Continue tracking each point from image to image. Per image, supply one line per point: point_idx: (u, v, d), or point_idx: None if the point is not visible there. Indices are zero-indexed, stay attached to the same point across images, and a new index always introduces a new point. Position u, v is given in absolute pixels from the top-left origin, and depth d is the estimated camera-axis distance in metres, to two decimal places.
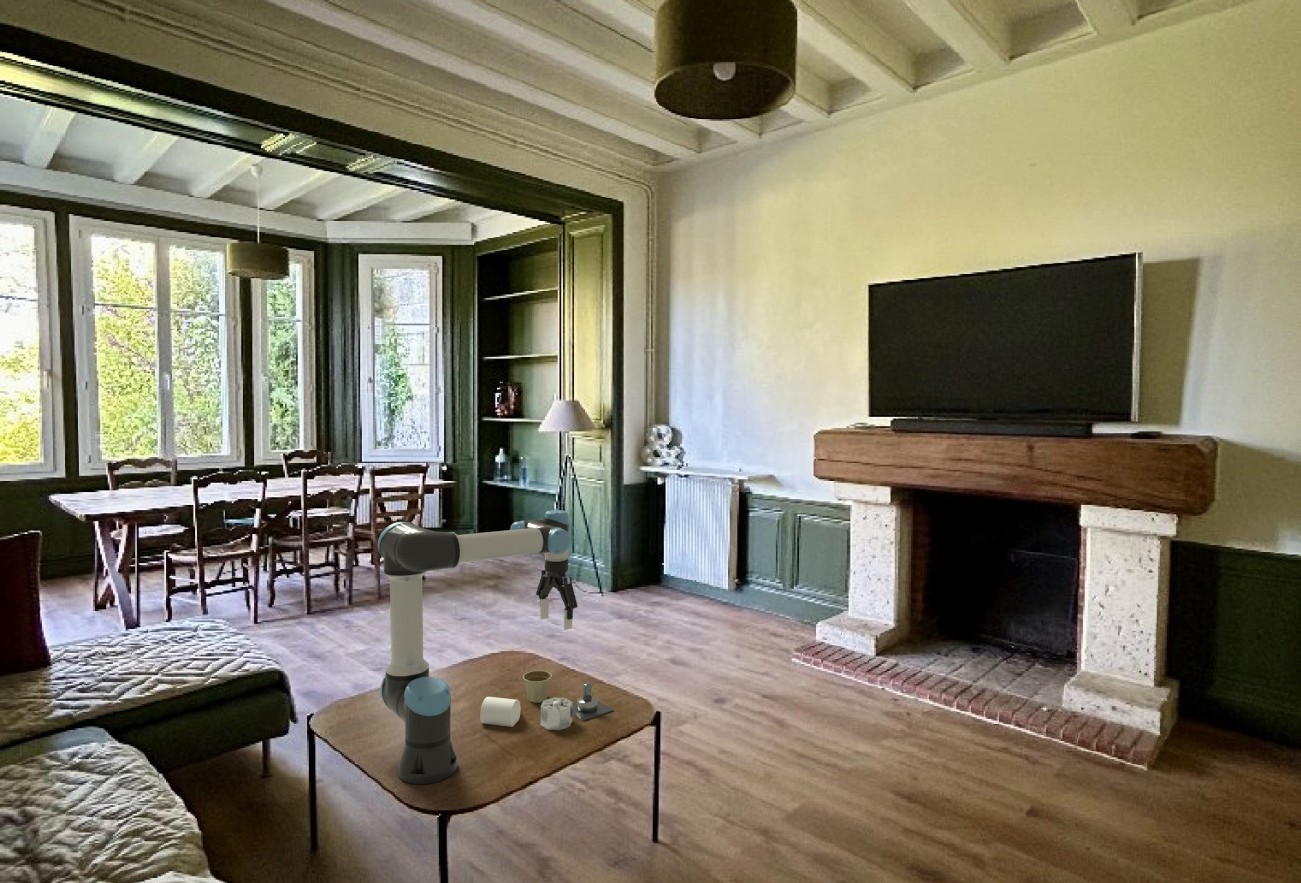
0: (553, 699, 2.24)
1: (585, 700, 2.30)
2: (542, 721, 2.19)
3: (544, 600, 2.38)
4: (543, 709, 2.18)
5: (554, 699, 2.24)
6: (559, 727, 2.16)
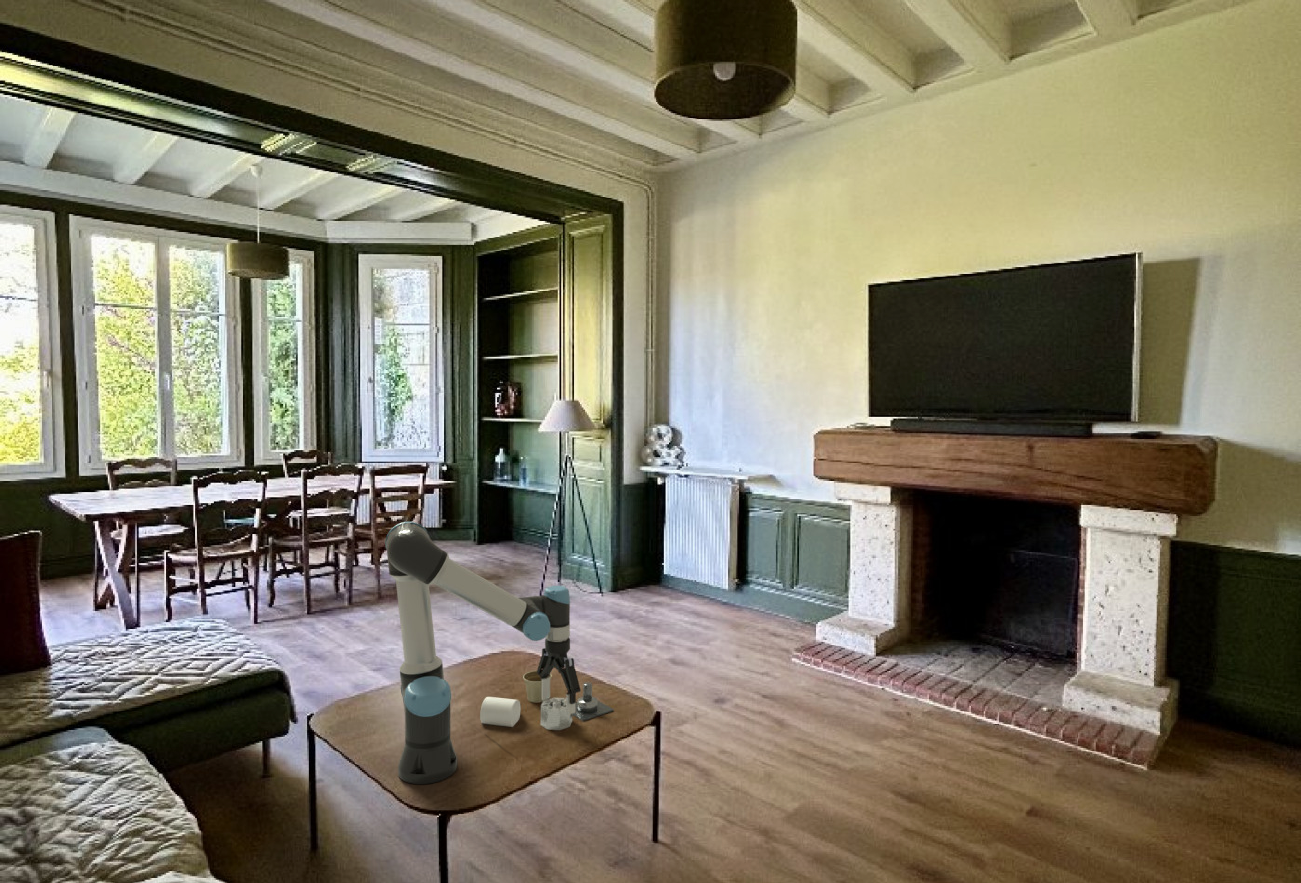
0: (553, 699, 2.24)
1: (585, 700, 2.30)
2: (542, 721, 2.19)
3: (545, 680, 2.25)
4: (543, 709, 2.18)
5: (554, 699, 2.24)
6: (559, 727, 2.16)
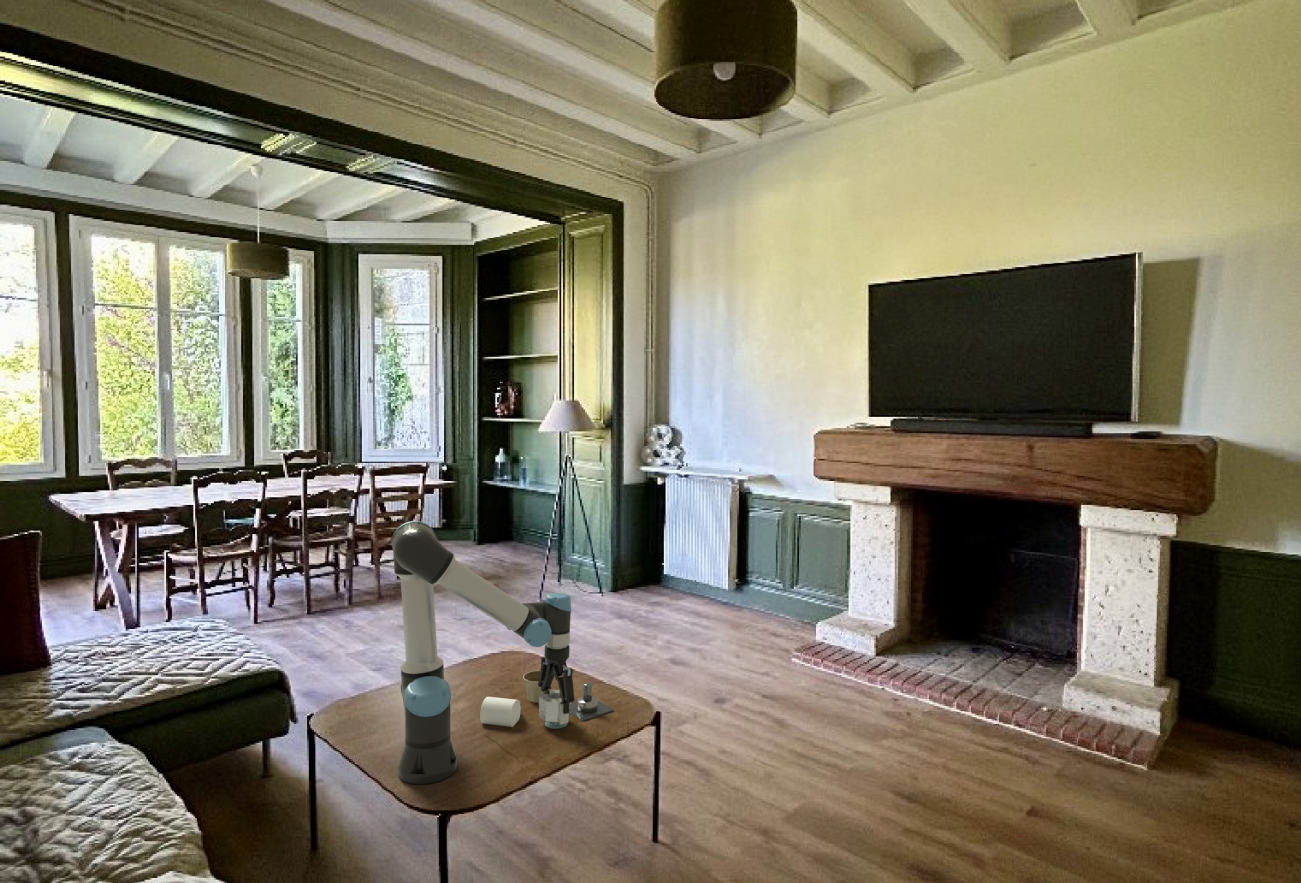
0: (552, 691, 2.23)
1: (585, 700, 2.30)
2: (540, 713, 2.18)
3: None
4: (541, 700, 2.18)
5: (553, 691, 2.23)
6: (557, 719, 2.16)
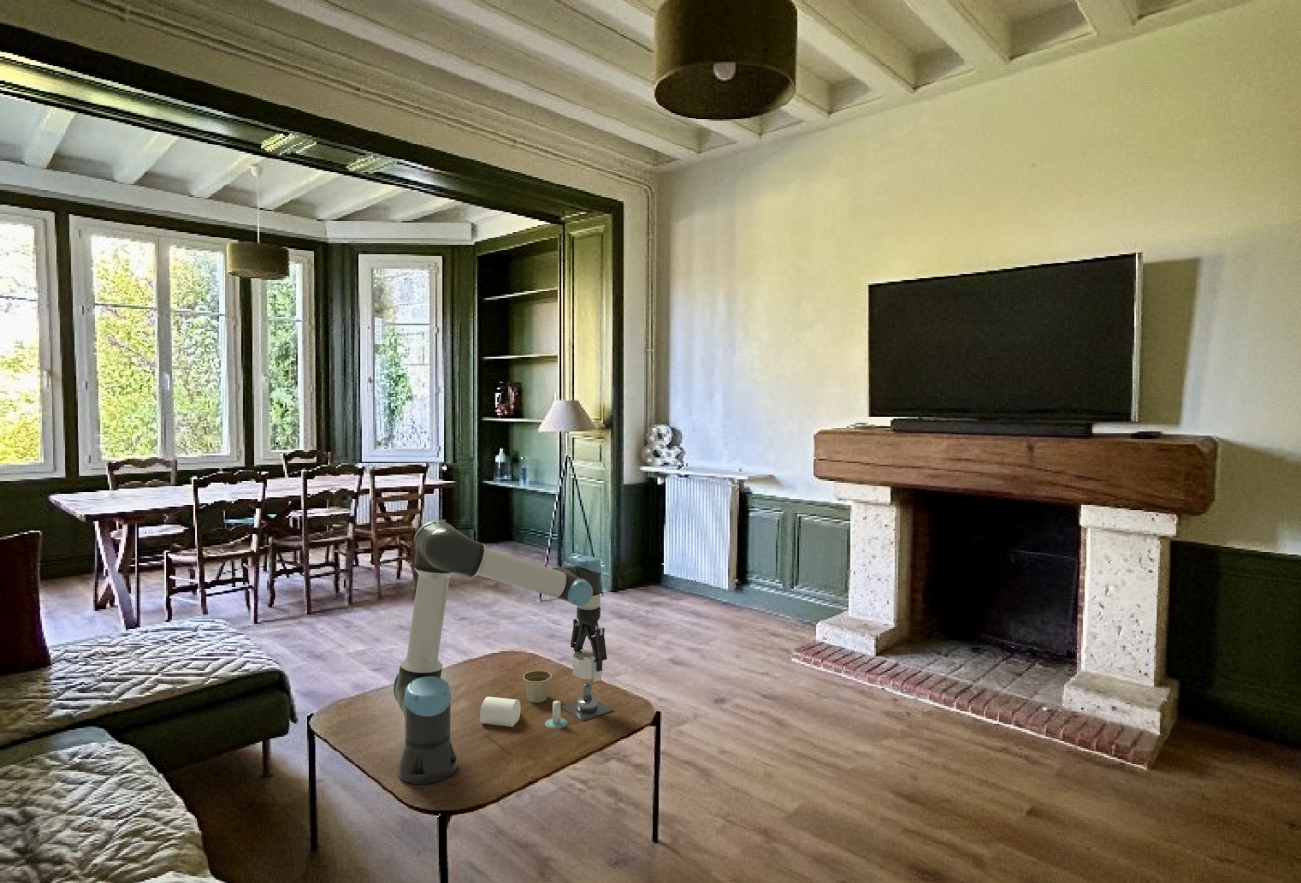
0: (584, 651, 2.33)
1: (585, 700, 2.30)
2: (574, 671, 2.28)
3: None
4: (575, 659, 2.27)
5: (585, 651, 2.33)
6: (591, 676, 2.26)
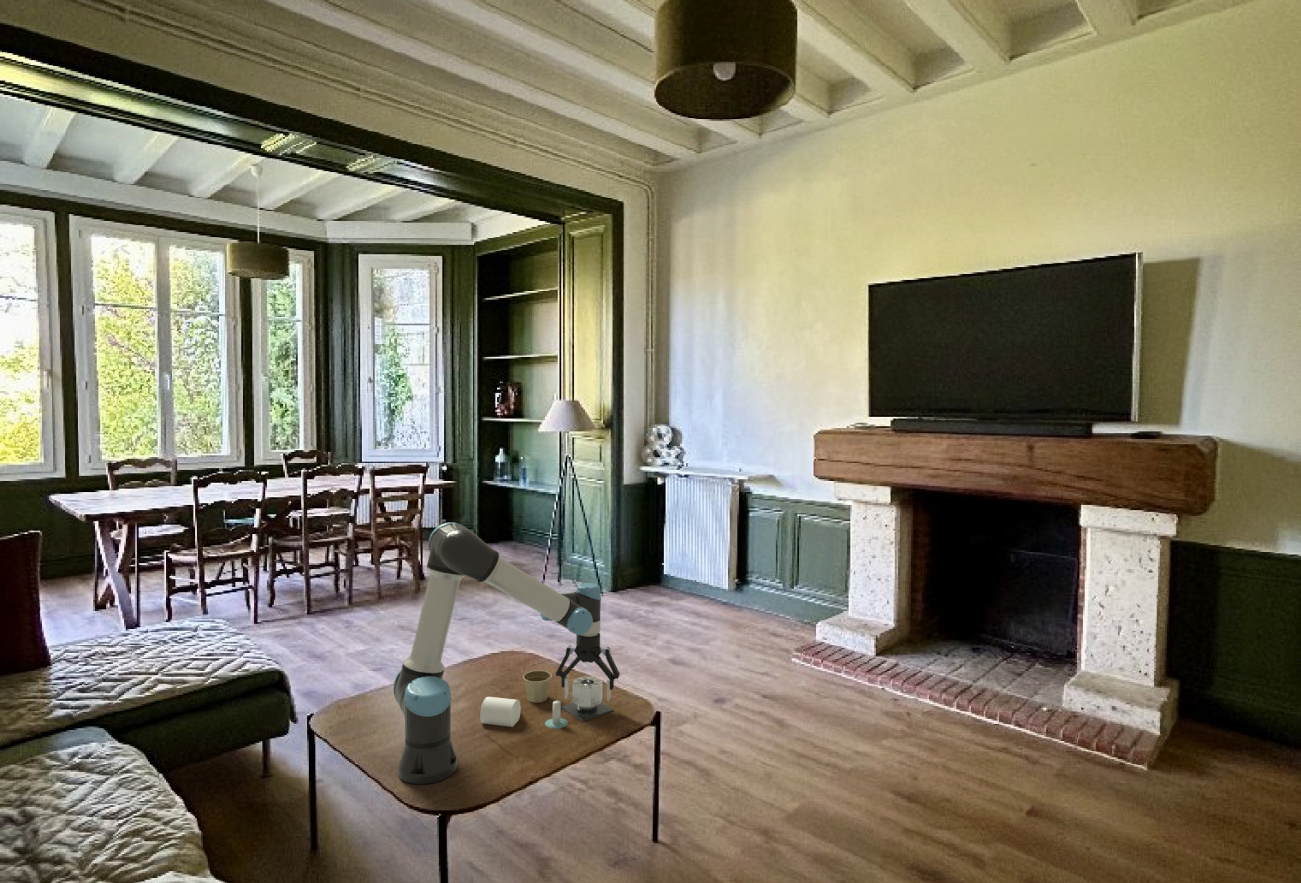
0: (577, 680, 2.31)
1: None
2: (582, 701, 2.26)
3: (567, 678, 2.31)
4: (584, 689, 2.26)
5: (578, 680, 2.32)
6: (600, 701, 2.28)
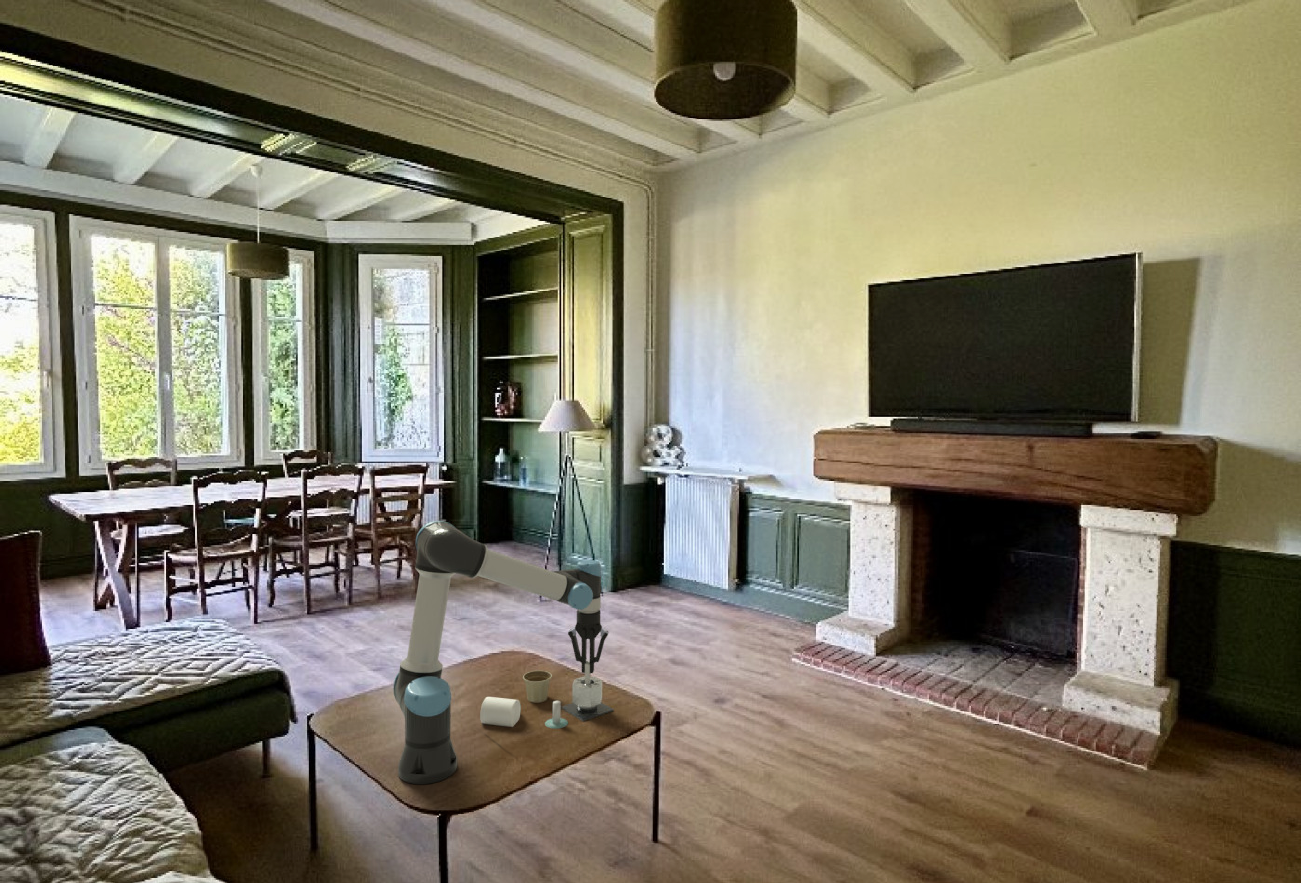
0: (577, 680, 2.31)
1: None
2: (582, 701, 2.26)
3: None
4: (584, 689, 2.26)
5: (578, 680, 2.32)
6: (600, 701, 2.28)
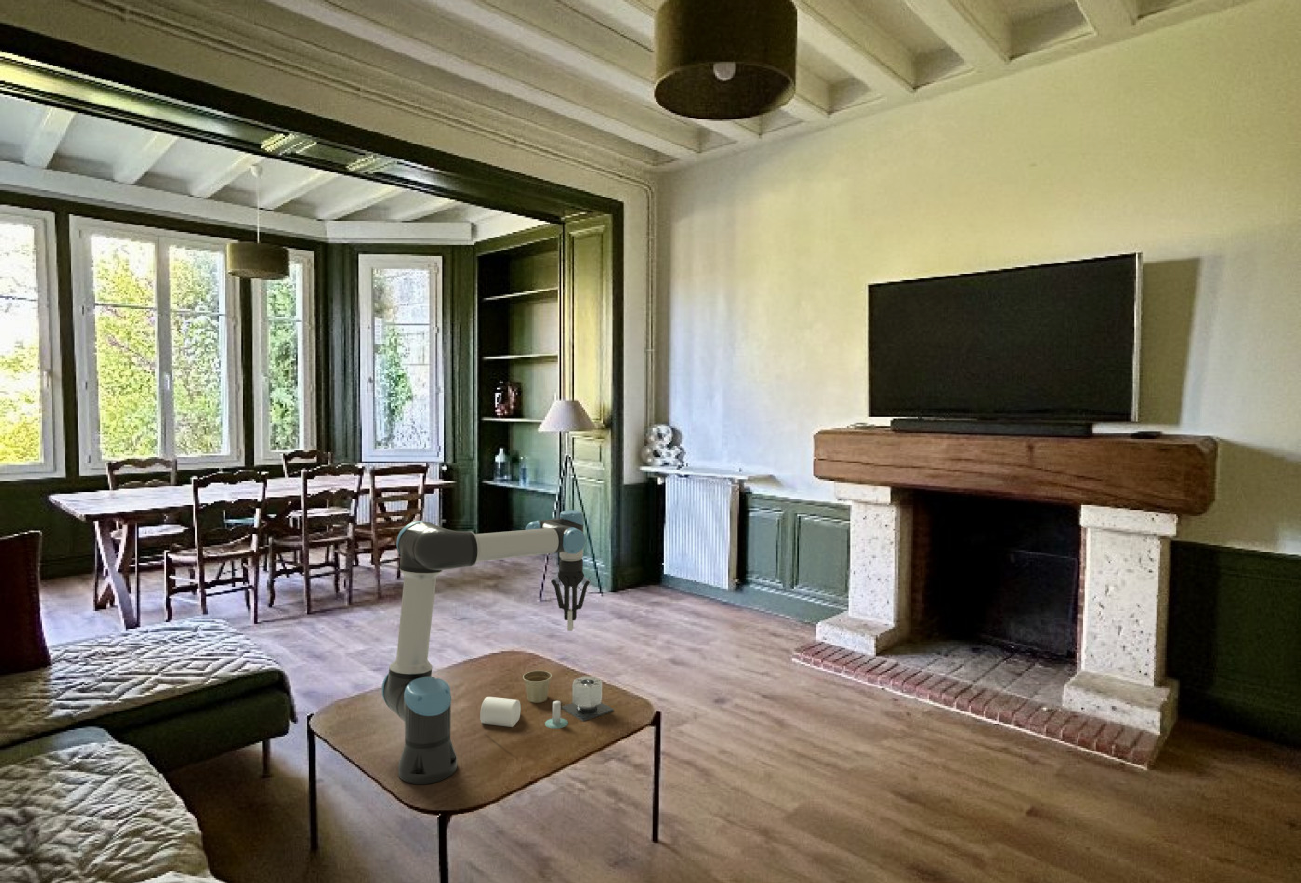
0: (577, 680, 2.31)
1: None
2: (582, 701, 2.26)
3: None
4: (584, 689, 2.26)
5: (578, 680, 2.32)
6: (600, 701, 2.28)
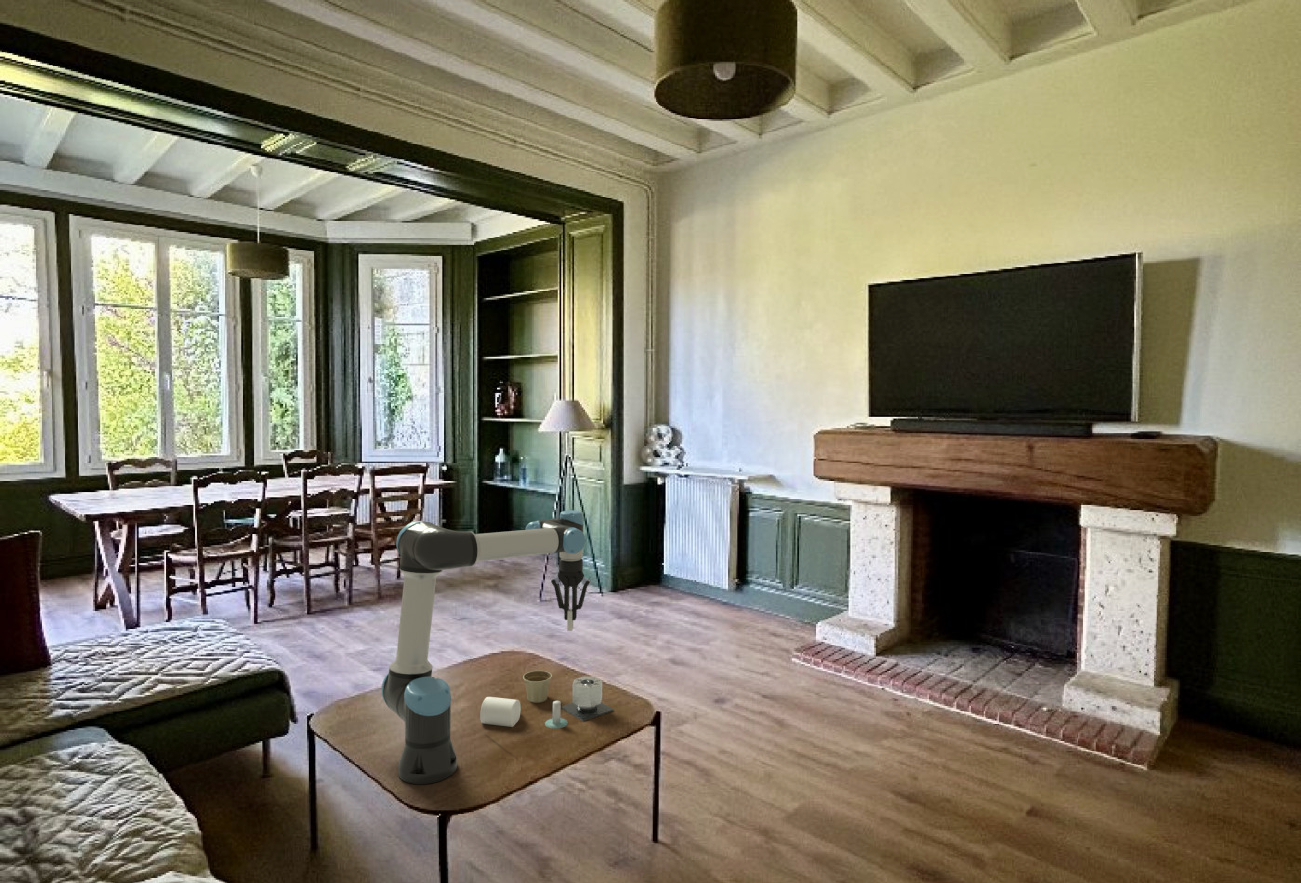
0: (577, 680, 2.31)
1: None
2: (582, 701, 2.26)
3: None
4: (584, 689, 2.26)
5: (578, 680, 2.32)
6: (600, 701, 2.28)
